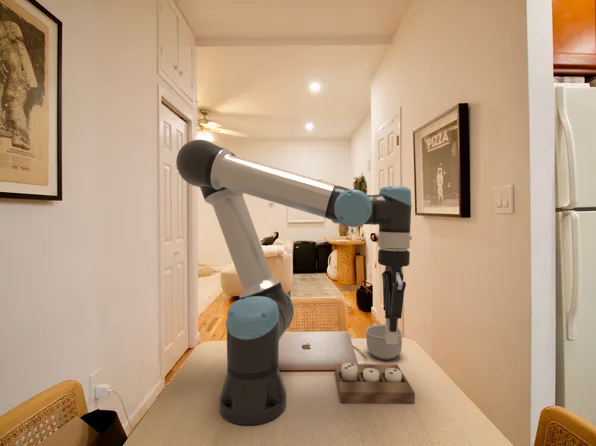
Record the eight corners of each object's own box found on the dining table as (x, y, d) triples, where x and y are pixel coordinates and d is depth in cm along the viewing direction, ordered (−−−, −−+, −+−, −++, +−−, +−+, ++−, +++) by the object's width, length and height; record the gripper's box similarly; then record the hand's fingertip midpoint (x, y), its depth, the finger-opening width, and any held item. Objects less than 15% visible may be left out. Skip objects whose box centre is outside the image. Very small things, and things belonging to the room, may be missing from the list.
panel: (340, 402, 74) (340, 392, 74) (334, 373, 88) (334, 364, 88) (414, 403, 74) (414, 392, 74) (397, 373, 88) (397, 364, 88)
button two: (387, 386, 79) (387, 375, 79) (383, 378, 83) (383, 367, 83) (403, 386, 79) (403, 375, 79) (398, 378, 83) (399, 367, 83)
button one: (364, 386, 79) (364, 375, 79) (361, 378, 83) (361, 367, 83) (381, 386, 79) (381, 375, 79) (377, 378, 83) (377, 367, 83)
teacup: (406, 363, 94) (406, 336, 94) (369, 363, 94) (369, 336, 94) (393, 344, 108) (393, 320, 107) (361, 344, 108) (361, 320, 108)
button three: (342, 380, 79) (342, 369, 79) (340, 373, 83) (340, 362, 83) (358, 381, 79) (358, 370, 79) (356, 373, 83) (356, 362, 83)
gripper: (418, 252, 73) (415, 354, 74) (401, 246, 86) (398, 333, 87) (385, 251, 74) (382, 353, 74) (373, 246, 87) (370, 332, 87)
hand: (391, 342), depth 81 cm, fingers closed
